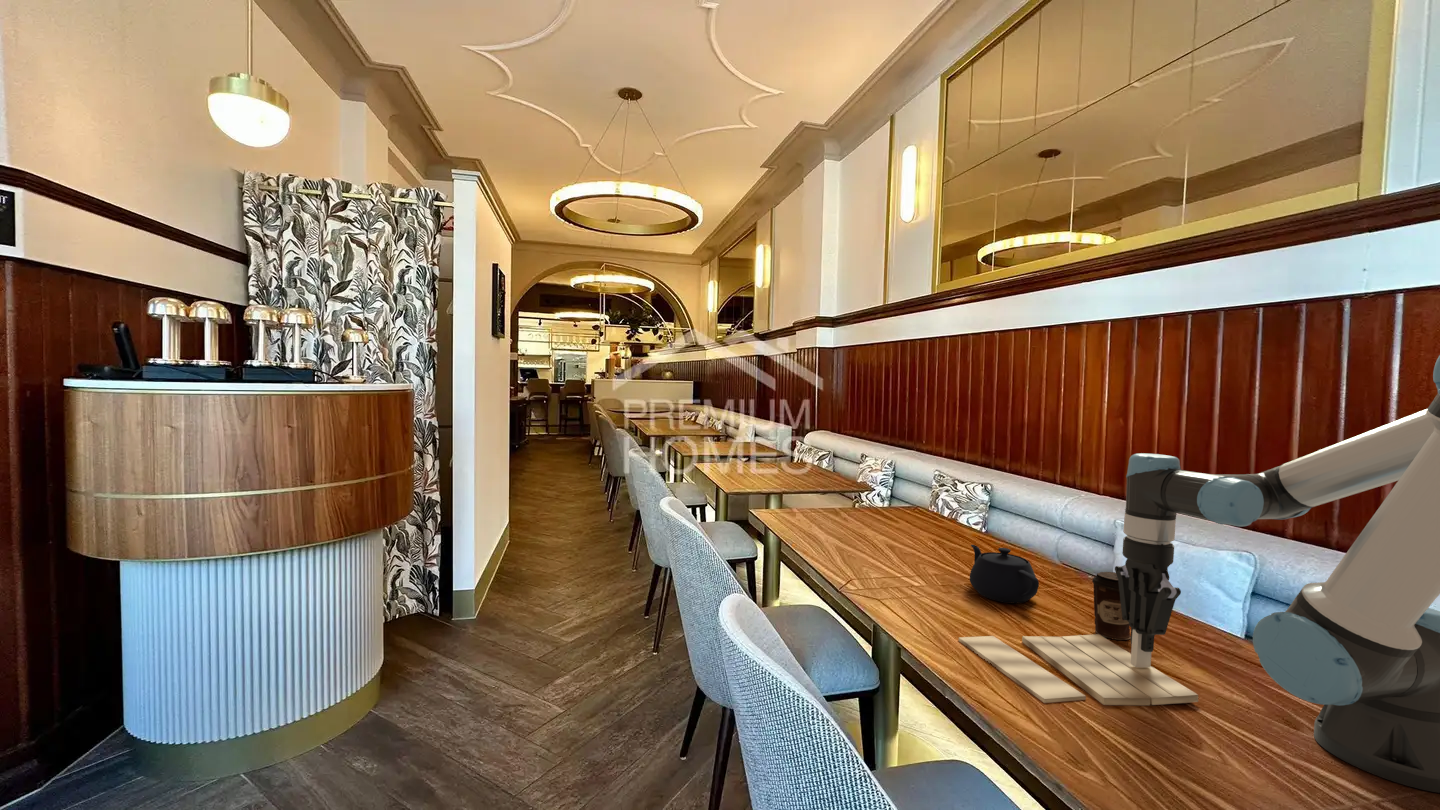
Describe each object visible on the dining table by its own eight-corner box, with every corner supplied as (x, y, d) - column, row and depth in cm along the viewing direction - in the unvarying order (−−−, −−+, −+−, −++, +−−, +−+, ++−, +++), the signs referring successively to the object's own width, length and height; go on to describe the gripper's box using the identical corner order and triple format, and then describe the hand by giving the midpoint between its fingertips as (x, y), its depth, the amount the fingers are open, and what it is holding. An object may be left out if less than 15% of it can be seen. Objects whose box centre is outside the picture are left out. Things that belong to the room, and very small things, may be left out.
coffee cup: (1144, 646, 121) (1148, 584, 120) (1100, 641, 123) (1103, 580, 122) (1124, 629, 129) (1127, 571, 129) (1083, 625, 131) (1086, 567, 131)
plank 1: (1085, 703, 99) (1085, 695, 99) (1044, 706, 97) (1044, 699, 97) (992, 641, 122) (993, 635, 122) (958, 643, 121) (958, 637, 121)
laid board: (1149, 705, 97) (1150, 697, 97) (1103, 704, 97) (1103, 697, 97) (1059, 642, 121) (1059, 636, 121) (1022, 641, 121) (1022, 635, 121)
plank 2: (1198, 701, 98) (1198, 694, 98) (1152, 705, 97) (1152, 697, 97) (1098, 639, 122) (1098, 633, 122) (1061, 642, 121) (1061, 636, 121)
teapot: (1064, 612, 139) (1066, 561, 138) (1006, 615, 136) (1008, 563, 135) (995, 578, 163) (997, 534, 163) (944, 579, 160) (946, 535, 160)
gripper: (1198, 549, 100) (1189, 684, 101) (1141, 530, 113) (1133, 649, 114) (1156, 548, 100) (1147, 683, 101) (1103, 529, 113) (1096, 649, 114)
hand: (1140, 665), depth 107 cm, fingers closed
